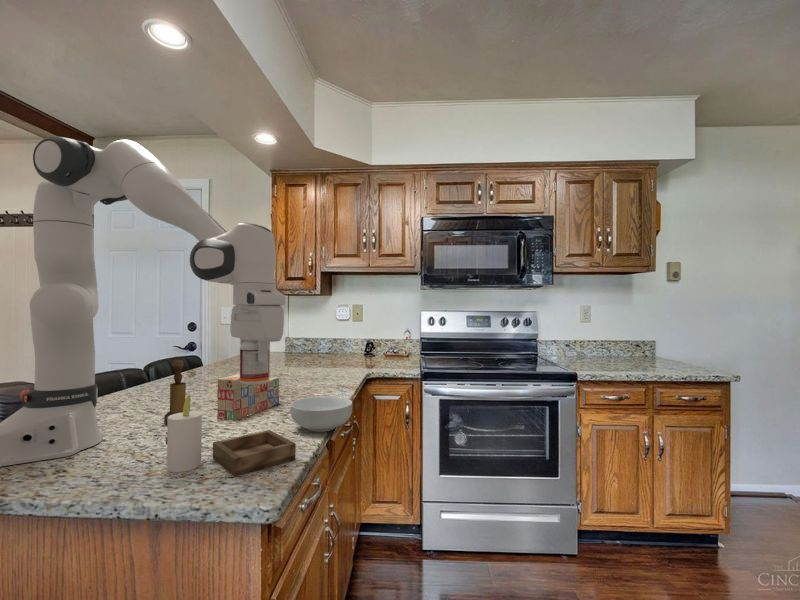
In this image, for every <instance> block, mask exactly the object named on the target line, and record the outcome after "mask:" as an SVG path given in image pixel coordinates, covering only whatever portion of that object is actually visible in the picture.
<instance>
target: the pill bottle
mask: <svg viewBox="0 0 800 600" xmlns="http://www.w3.org/2000/svg"><path fill="white" fill-rule="evenodd" d="M243 340H245V342H244V343H242V344H241V345H240V346H239V374H240V383H241V384H244V385H258V384H264V383H267V382H268V381H269V377H271V376H270V374H271V373H270V366H271V365H270V363H271V362H270V360H271V359H270V353H271V352H270V351H271V350H270V349H271V346H270V347H269V350H268V353H267V361H266V362H257V361H256V354H258V349H259V346H258V341H256V340H251V339H250V337H249V332H245V331H243Z"/></svg>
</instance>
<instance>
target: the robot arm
mask: <svg viewBox="0 0 800 600" xmlns="http://www.w3.org/2000/svg"><path fill="white" fill-rule="evenodd" d="M32 163H33V166H34V169H35V171H36V173H37V174H38V176H40V177H41V178H42V179H44V180H42V181H41V182H40V183H39V184H38V185H37V189H36V191H35V195H34V202H33V211H32V213H33V215H32V225H33V229H32V230H33V253H34V255H33V257H34V260H35V265H36V268H37V275H38V279H39V286H40V287H39V288H38V289H37V290H36V291H35V292H34V293H33V294H32V296H31V297H30V301H29V311H30V325H31V326H30V327H31V333H32V334H31V335H32V342H33V343H32V344H33V348H34V388H33V389H31V390H30V389H24V390H22V391H21V392H20V395H19V398H20V399H21V404H22V405H21V406H22V407H21V408H19V409H18V410H16V411H15V412H14V413H13V414H11V415H9V416H8V417H6V418H5V419H4V420H2V421H1V422H0V467H5V466H11V465H17V464H24V463H25V464H27V463H33V462H38V461H44V460H46V461H47V460H52V459H53V460H54V459H58V458H65V457H70V456H72V455H75V454H77V453H79V452H80V451H83V450H86V449H87V448H92V447H93V446H96V445H98V444H100V443H101V442H102V441H103V437H102V434H101V431H100V428H99V424H98V417H97V411H96V407H97V404H98V396H99V395H98V393H99V392H98V385H97V383H96V347H95V333H94V331H95V330H94V329H95V328H94V318H95V316H96V315H97V313H98V311H99V296H98V295H99V291H98V280H97V279H98V278H97V272H96V261H95V241H94V239H95V237H94V234H95V233H94V217H93V209H94V207H95V205H96V204H97V203H98V202H100V203H101V204H103V205H105V206H110V205H112V204H114V203H117V202H122V201H128V200H129V202H130V203H131V204H132V205H133V206H134V207H136V208H137V209H138V210H140V211H141V212H143V213H144V214H145V215H147V216H149V217H151V218H153V219H156V220H159V221H161V222H164V223H165V224H169V225H171V226H174V227H177V228H180V229H181V230H183V231H185V232H187V233H189V234H190V235H191V236H193V237H194V238H195V239H196V240H197V241H198V242H197V243H195V244H194V246H193V248H192V249H191V251H190V253H189V266H190V269H191V271H192V273H193V274H194V275H195V277H197V278H199V279H201V280H204V281H206V282H211V283H218V284H225V285H232V288H233V289H232V291H233V292H232V296H233V297H232V304H233V307H232V308H231V314H230V335H231V337H232V338H236V339H239V345H240V346H241V344H242V343H244V342H245V340H243V331H245V332H249V337H250V339H251V340H256V341H258V346H259V349H258V354H256V361H257V362H266V361H267V353H268V350H269V347H270V348H271V343H274V342H280V341H282V339H283V336H284V326H285V325H284V324H285V323H284V321H285V313H284V311H285V310H284V308H283V306H285V305H286V296H285V294H283V293H282V292H280V291H279V290H278V289H277V288H276V287H277V285H276V284H277V283H276V282H277V281H276V279H275V269H276V267H277V255H276V254H277V251H276V242H275V236H274V233H273V232H272V231H271V229H269V228H268V227H265V226H264V225H259V224H256V223H251V222H238V223H237V224H235V226H233V228H231V229H230V230H228V231H227V230H226V229H224V228H223V227H222V225H220V223H218V221H217V220H215V218H213V217H212V216H211V214H209V213H208V212H207V211H206V210H205V209H204V208H203V207H202V206H201V205H200V204H199V202H197V201H196V200H195V198H194V197H193V196H192V195H191V194H190V193H189V192H188V191H187V189H186V188H185V187H184V186H183V184H182V183H181V182H179V180H178V179H177V178H176V177H175V175H174V174H173V173H172V172H171V170H169V169H168V168H167V166H165V164H164V163H163V162H162V161H160V160H159V159H158V158H157V156H155V155H154V154H153V153H151V152H150V151H149V150H148V149H146V148H145V147H143V145H140V144H139V143H138V142H136V141H134V140H130V139H119V140H114V141H112V142H110V143H109V144H107V146H106V147H104V148H103V149H101V148H98V147H94V146H92V145H89V144H88V143H87V142H85V141H81V140H77V139H74V138H69V137H64V136H56V135H55V136H54V135H53V136H47V137H44V138H43V139H41V140H40V141H39V142H38V144H36V146H35V147H34V149H33V155H32Z"/></svg>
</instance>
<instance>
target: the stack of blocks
mask: <svg viewBox="0 0 800 600" xmlns="http://www.w3.org/2000/svg"><path fill="white" fill-rule="evenodd" d="M216 392H217V393H216V396H217V397H216V398H217V416H216V417H217V420H220V419H224V420H223V421H229V420H233V421H232V422H235V421H237V420H236V419H238V420H240V419H239V418H241V419H243V418H242V417H244V418H246V417H245V416H247V415H249V416H251V415H250V414H252V415H254V414H253V413H255V412H257V413H259V412H258V411H260V412H262V411H264V410H263V409H265V410H267V409H266V408H268V409H270V408H273V407H275V406H274V405H276V406H278V405H277V404H279V405H280V377H276V376H275V377H274V376H273V377H271V376H270V377H269V381H268V382H267V383H264V384H258V385H244V384H241V383H240V373H236V374H233V375H229V376H225V377H220V378H219V377H218V378H217V390H216ZM272 406H273V407H272ZM269 407H270V408H269ZM261 410H262V411H261ZM255 414H256V413H255ZM247 417H248V416H247ZM234 420H235V421H234Z"/></svg>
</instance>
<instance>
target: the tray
mask: <svg viewBox="0 0 800 600" xmlns="http://www.w3.org/2000/svg"><path fill="white" fill-rule="evenodd" d="M296 445H297V444H296V442H293V441H291V440H289V439H288V438H285V437H284V436H282V435H280V434H278V433H277V432H274V431H272V430H271V429H267V430H264V431H259V432H255V433H250V434H245V435H241V436H235V437H230V438H226V439H222V440H217V441H214V442H212V460H213V461H215V462H216V463H217V464H219V465H220V466H221V467H222V468H223V469H225V471H227V472H228V473H229V474H230V475H232V476H233V477H234V478H236V477H239V476H243V475H246V474H249V473H253V472H256V471H260V470H263V469H264V468H265V469H267V468H271V466H272V467H275V466H278V465H282V464H285V463H289V462H292V461H295V460H296V450H297V449H296V447H297V446H296ZM265 469H264V470H265Z"/></svg>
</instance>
